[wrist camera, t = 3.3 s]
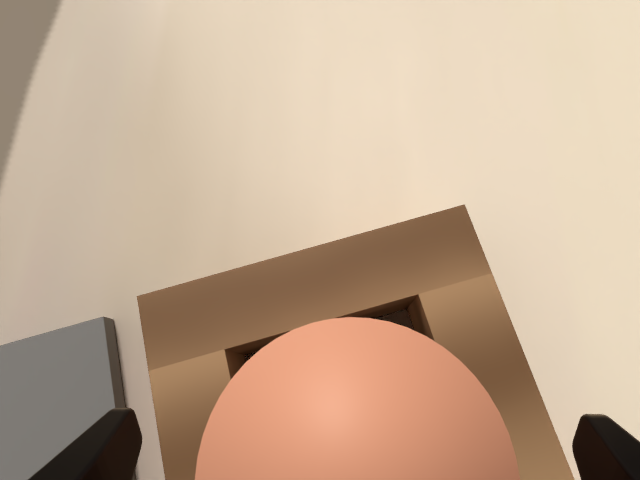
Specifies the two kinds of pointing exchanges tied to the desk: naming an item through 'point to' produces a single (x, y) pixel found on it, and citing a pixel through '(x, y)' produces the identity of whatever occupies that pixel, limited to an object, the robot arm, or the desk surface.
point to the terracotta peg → (355, 411)
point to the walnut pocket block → (339, 302)
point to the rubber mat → (55, 392)
